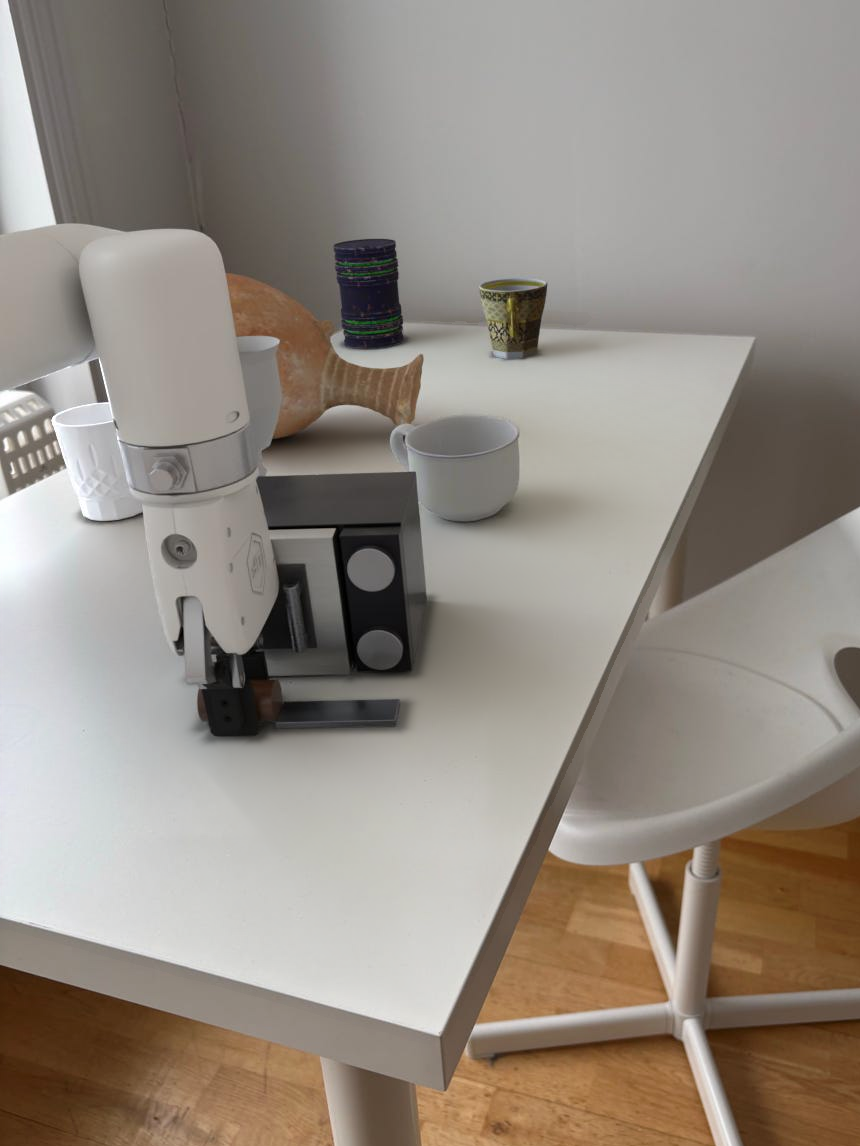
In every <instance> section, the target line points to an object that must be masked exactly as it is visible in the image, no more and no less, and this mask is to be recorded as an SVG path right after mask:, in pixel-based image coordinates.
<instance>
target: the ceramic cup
mask: <svg viewBox="0 0 860 1146" xmlns="http://www.w3.org/2000/svg"><path fill="white" fill-rule="evenodd" d="M478 290H479V295H480V296H479V297H480V300H481V301H480V302H481V304H482V310H483V313H484V316H485V318H486V323H487V329H488V334H489V339H490V342H491V348H492V353H493V356H494V357H496V358H500V359H504V360H521V359H526V358H530V357H533V356H536V354H537V353H538V347H539V339H540V331H541V326H542V325H541V324H542V319H543V314H544V310H545V304H546V300H547V294H548V293H547V292H548V282H547V281H546V280H543V279H540V278H539V279H538V278H531V277H530V278H529V277H513V278H512V277H511V278H501V279H493V280H490V281H486V282H483V283H481V284H479V285H478Z"/></svg>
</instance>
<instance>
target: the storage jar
mask: <svg viewBox="0 0 860 1146" xmlns="http://www.w3.org/2000/svg"><path fill="white" fill-rule="evenodd" d="M396 248H397V241H396V240H394V239H390V238H362V239H352V240H346V241H340V242H337V243H335V244H333V252H334V261H335V262H334V270H335V272H336V282H337V284H338V285H339V295H340V304H341V308H340V316H341V320H340V321H341V328H342V329H343V330H342V333H343V336H344V340H343V342H344V343H343V344H344V346H345V347H347V348H350V349H357V350H373V349H376V350H377V349H384V348H389V347H394V346H398V345H399V344H402V343H403V342H404V341H405V336H404V334H403V333H404V332H403V331H404V326H403V325H404V317H403V314H402V311H403V310H402V305H401V303H400V294H399V283H398V281H399V279H400V277H399V276H400V272H399V268H398V267H399V260H398V258H397V257H398V256H397V255H398V254H397V250H396Z"/></svg>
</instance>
